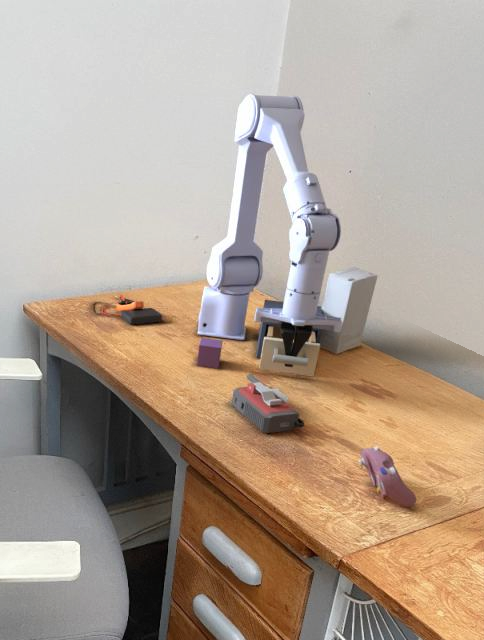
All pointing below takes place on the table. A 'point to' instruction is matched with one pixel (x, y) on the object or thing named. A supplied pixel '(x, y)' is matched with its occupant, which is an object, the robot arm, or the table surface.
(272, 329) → the drawer
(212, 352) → the block
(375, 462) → the video game controller
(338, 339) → the cosmetic box
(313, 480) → the table surface
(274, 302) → the cabinet
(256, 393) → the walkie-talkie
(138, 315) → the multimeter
